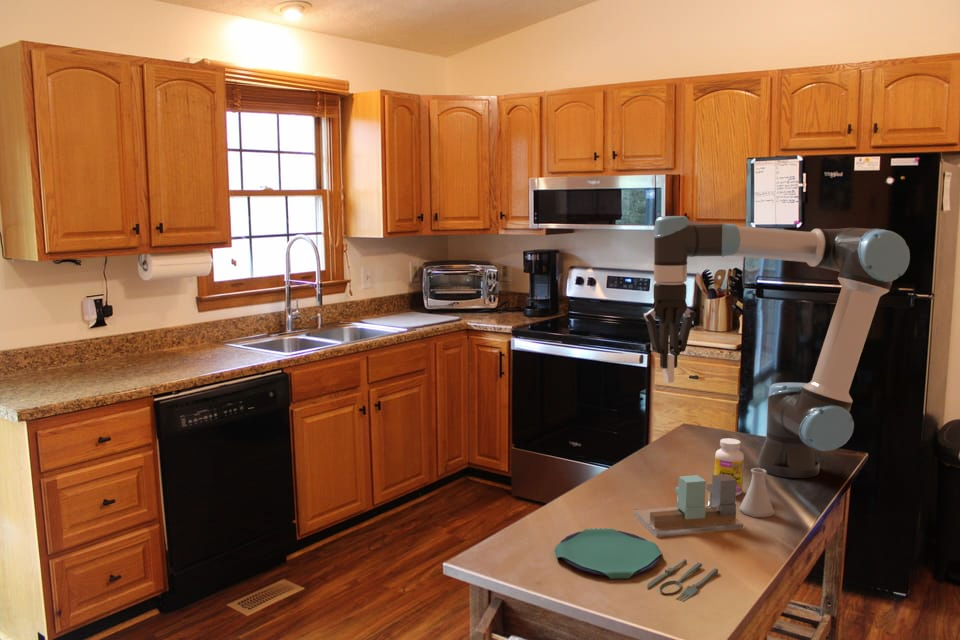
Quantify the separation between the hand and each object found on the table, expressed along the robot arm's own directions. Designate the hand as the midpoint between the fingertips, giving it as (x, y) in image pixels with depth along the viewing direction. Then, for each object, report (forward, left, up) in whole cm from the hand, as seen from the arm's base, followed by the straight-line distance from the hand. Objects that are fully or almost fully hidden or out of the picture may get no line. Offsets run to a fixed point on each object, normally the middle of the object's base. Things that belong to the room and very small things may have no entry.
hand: (668, 381), depth 193 cm
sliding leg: (+4, +19, -26) cm, 32 cm away
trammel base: (+3, +18, -27) cm, 33 cm away
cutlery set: (+23, +35, -28) cm, 51 cm away
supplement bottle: (-15, +3, -28) cm, 32 cm away
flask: (-15, +16, -28) cm, 36 cm away
